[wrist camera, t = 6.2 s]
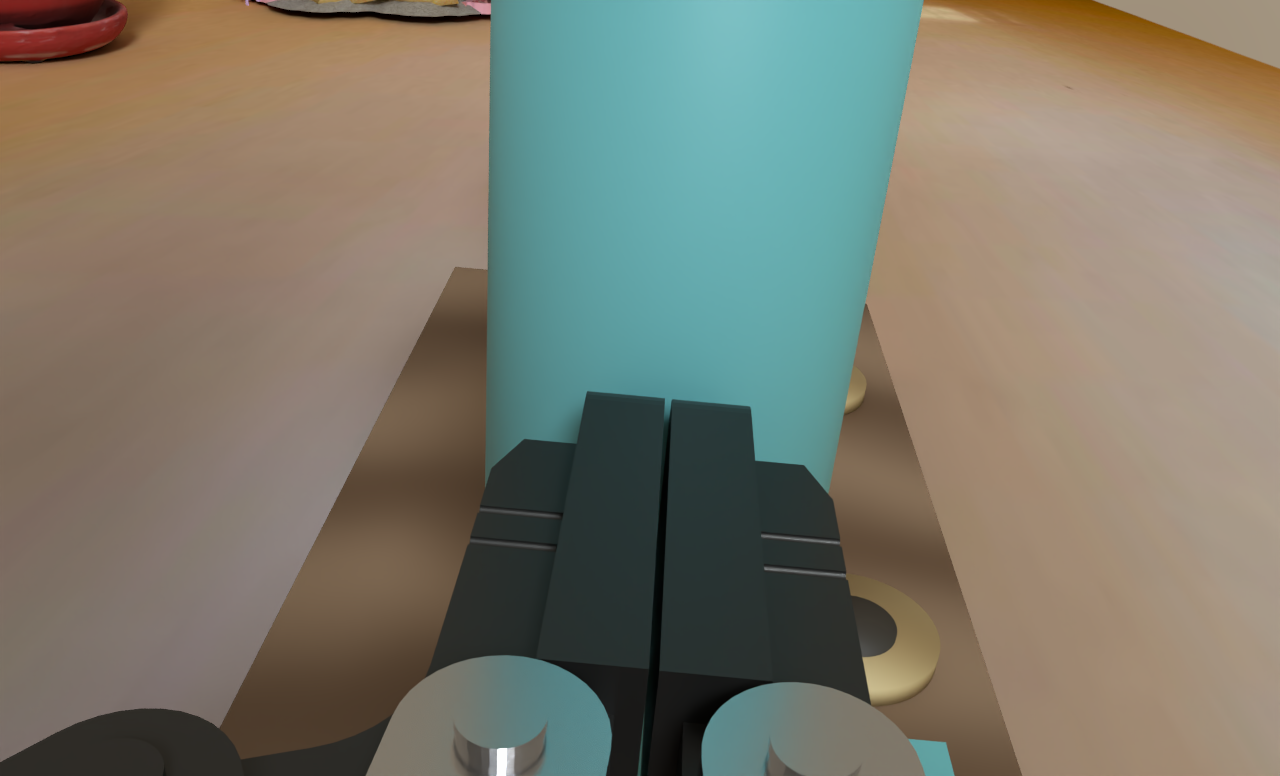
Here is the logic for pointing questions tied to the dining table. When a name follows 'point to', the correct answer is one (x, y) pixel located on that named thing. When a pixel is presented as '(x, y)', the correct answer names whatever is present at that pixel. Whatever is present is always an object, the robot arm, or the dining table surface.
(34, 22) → the plant pot
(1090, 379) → the dining table surface
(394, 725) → the robot arm
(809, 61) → the teal lever handle
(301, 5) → the pastel sphere sculpture
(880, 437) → the gauge board
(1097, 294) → the dining table surface
